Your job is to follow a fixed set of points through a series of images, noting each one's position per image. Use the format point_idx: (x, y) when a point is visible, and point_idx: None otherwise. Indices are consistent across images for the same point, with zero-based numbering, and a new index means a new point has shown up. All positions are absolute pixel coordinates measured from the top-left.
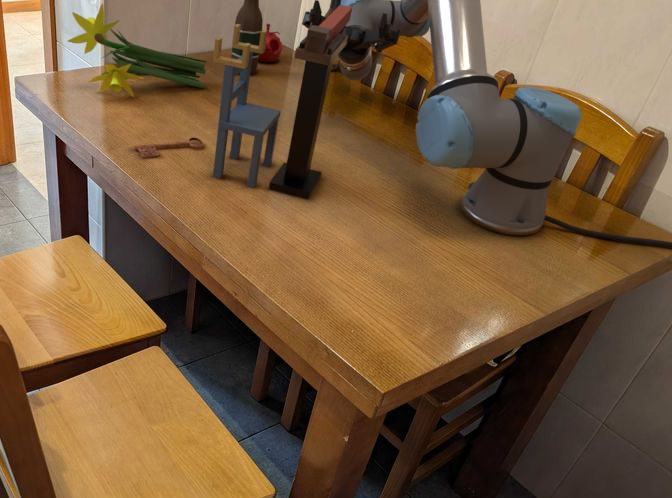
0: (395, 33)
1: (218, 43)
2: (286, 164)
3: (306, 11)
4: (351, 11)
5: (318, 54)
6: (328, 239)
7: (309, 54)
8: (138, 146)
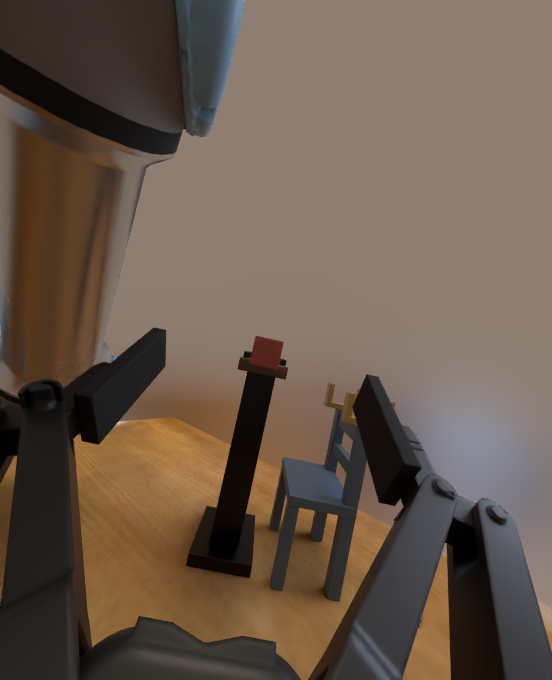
0: (11, 411)
1: (357, 392)
2: (246, 560)
3: (494, 502)
4: (254, 343)
5: None
6: (186, 471)
7: None
8: None
